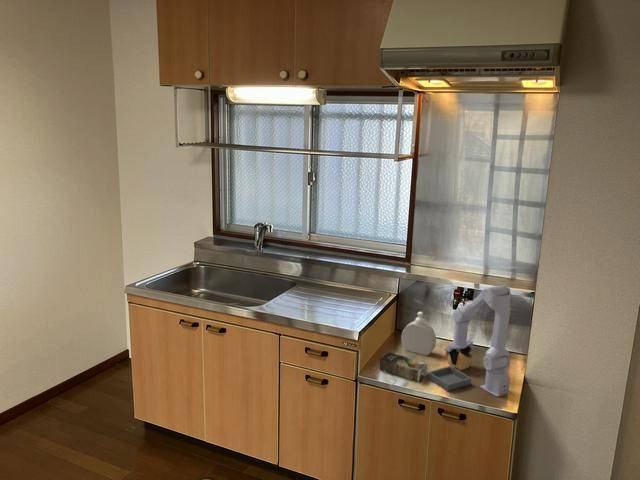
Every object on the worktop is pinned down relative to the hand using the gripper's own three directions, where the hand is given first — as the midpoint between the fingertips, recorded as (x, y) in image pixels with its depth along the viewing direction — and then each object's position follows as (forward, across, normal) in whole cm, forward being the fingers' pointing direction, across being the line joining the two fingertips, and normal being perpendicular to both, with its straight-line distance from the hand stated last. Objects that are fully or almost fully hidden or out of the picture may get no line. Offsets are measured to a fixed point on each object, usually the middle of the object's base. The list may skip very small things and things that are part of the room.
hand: (458, 362), depth 252 cm
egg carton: (+2, -8, -10) cm, 13 cm away
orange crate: (+1, 0, 0) cm, 1 cm away
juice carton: (+2, +26, -7) cm, 27 cm away
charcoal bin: (+2, +14, +9) cm, 17 cm away
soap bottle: (+2, +6, -21) cm, 22 cm away
